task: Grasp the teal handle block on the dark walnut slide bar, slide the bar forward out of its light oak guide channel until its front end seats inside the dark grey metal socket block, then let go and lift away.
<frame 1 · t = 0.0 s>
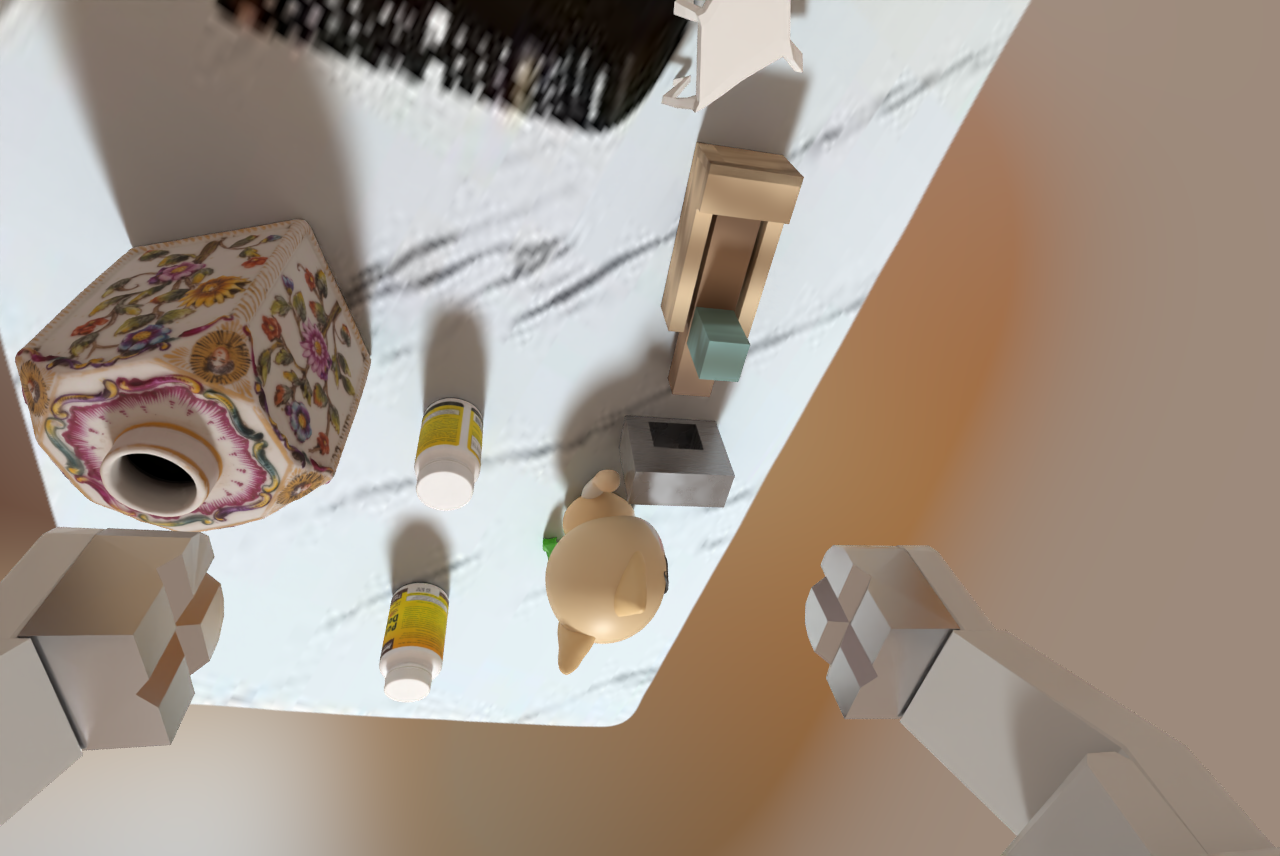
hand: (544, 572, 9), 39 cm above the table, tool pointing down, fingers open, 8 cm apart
slide bar: (720, 311, 47), point 5 cm above the table, slide at 1.0 cm
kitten: (595, 509, 64), on the table
guide channel: (718, 235, 48), on the table
supplement bottle 2: (421, 595, 68), on the table
socket block: (667, 434, 59), on the table
decorative jar: (262, 305, 47), on the table
supplement bottle: (454, 418, 55), on the table
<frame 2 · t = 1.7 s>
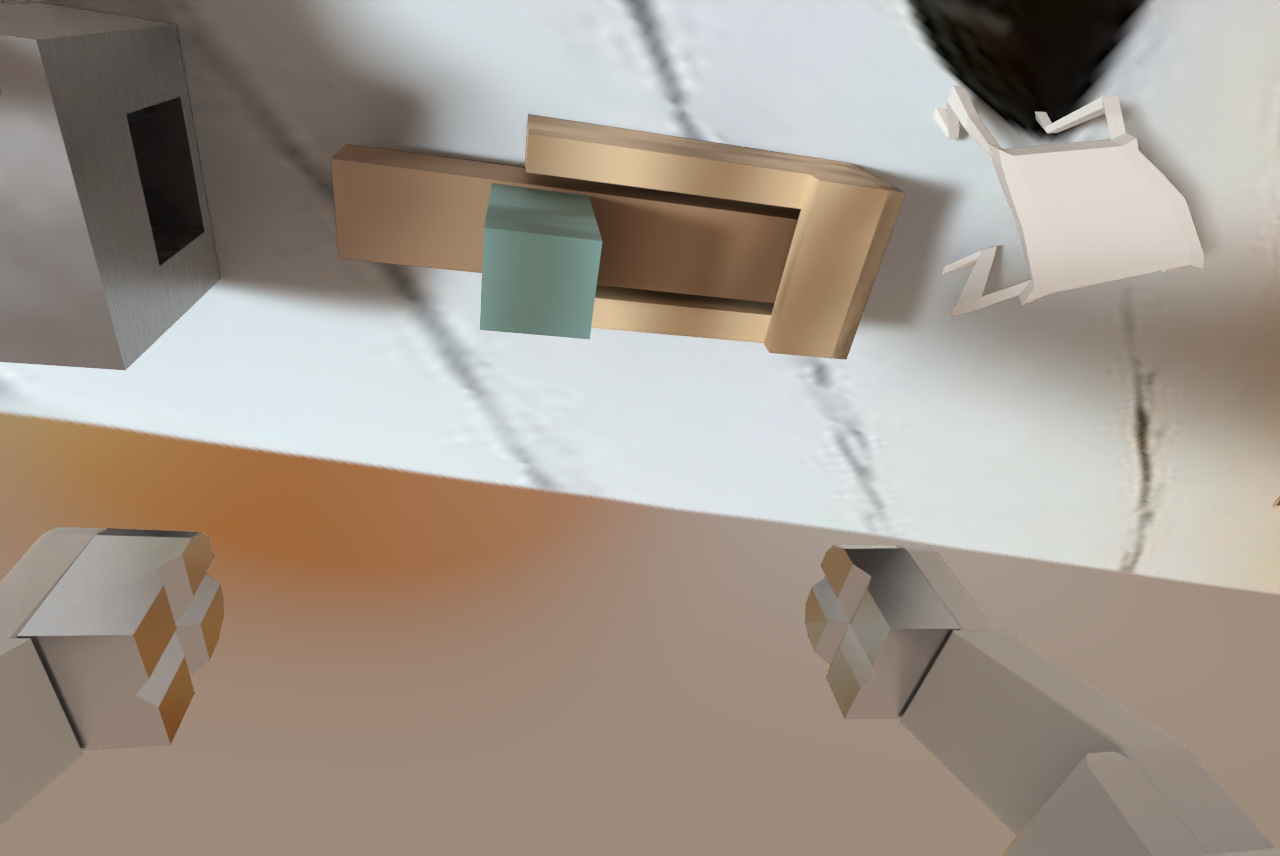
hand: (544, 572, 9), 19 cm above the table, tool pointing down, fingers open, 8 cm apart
slide bar: (599, 252, 21), point 5 cm above the table, slide at 1.0 cm
guide channel: (681, 223, 26), on the table
socket block: (140, 156, 22), on the table
origami figure: (1022, 200, 27), on the table
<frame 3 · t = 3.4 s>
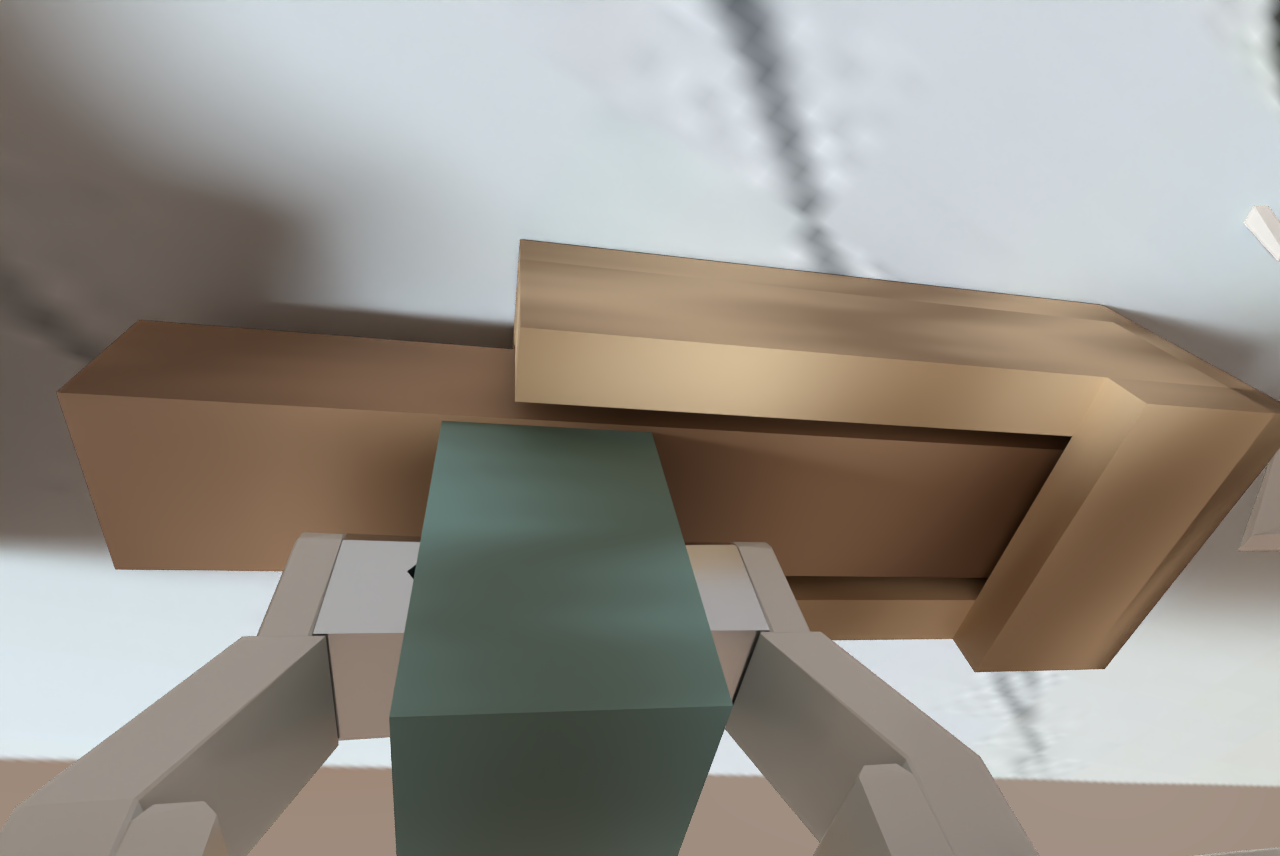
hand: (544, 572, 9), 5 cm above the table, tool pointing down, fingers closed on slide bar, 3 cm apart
slide bar: (675, 559, 10), point 5 cm above the table, slide at 1.0 cm, touching gripper
guide channel: (795, 410, 14), on the table
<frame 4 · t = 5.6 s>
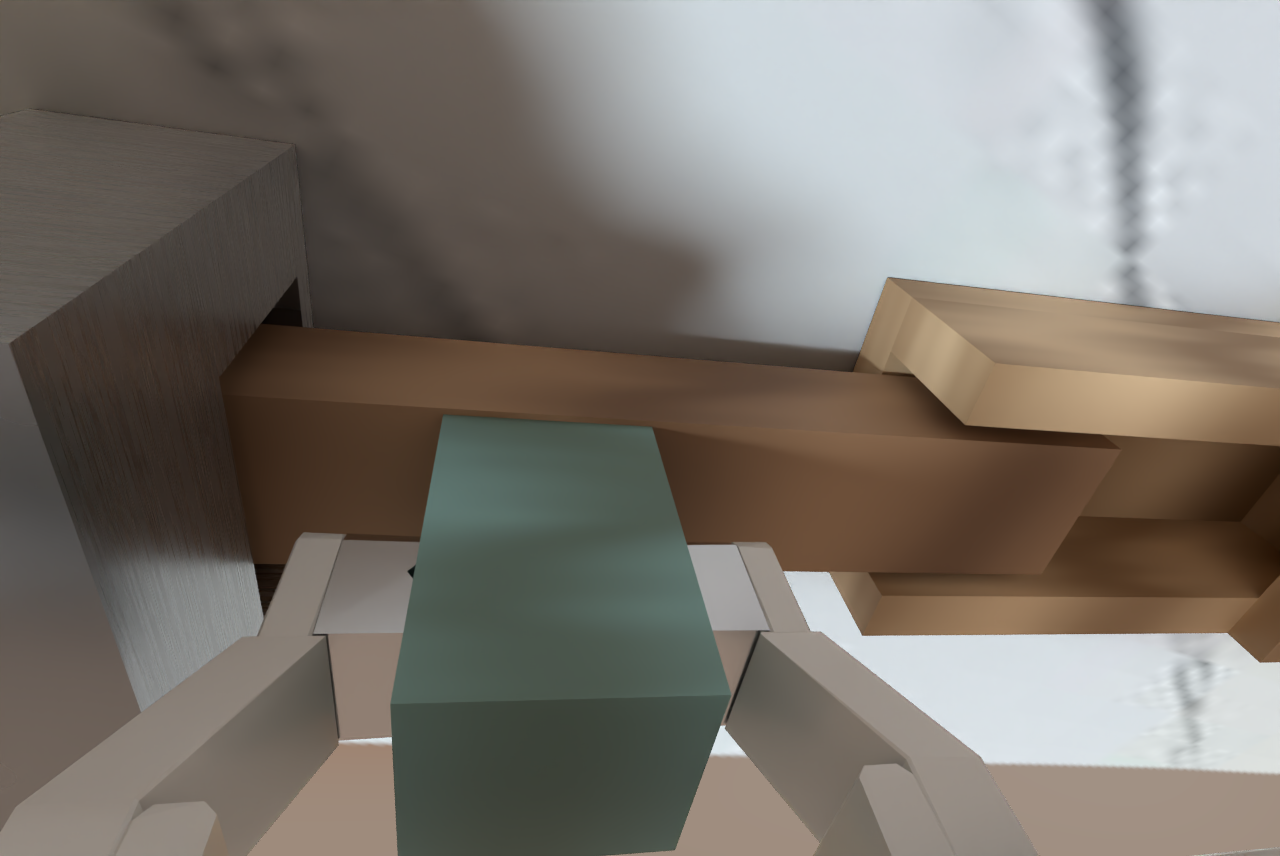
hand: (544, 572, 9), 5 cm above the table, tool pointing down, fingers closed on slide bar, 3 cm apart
slide bar: (675, 552, 10), point 5 cm above the table, slide at 8.0 cm, touching gripper
guide channel: (1071, 425, 16), on the table
socket block: (212, 366, 12), on the table
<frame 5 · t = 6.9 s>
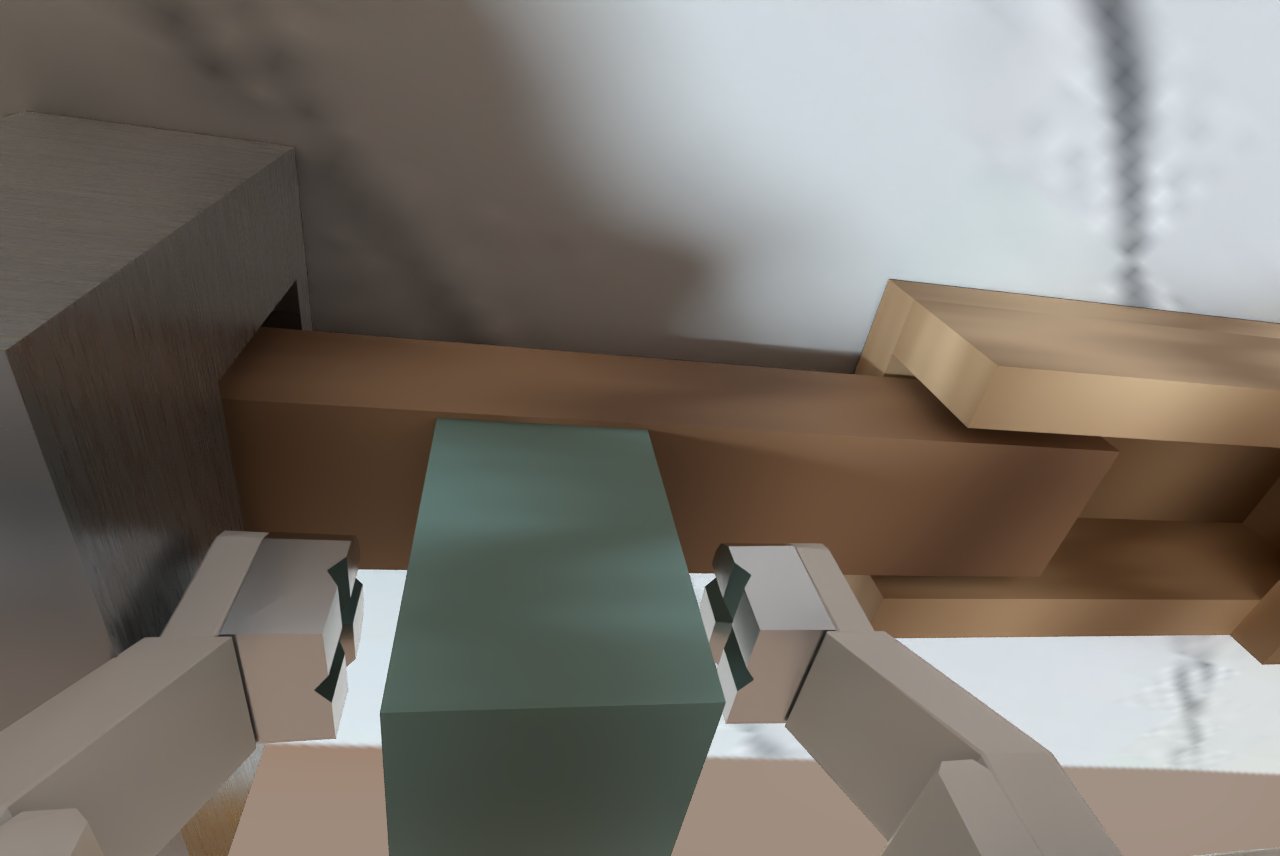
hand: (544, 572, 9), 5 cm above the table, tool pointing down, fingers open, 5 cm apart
slide bar: (671, 556, 10), point 5 cm above the table, slide at 8.1 cm
guide channel: (1073, 427, 16), on the table
socket block: (211, 369, 12), on the table
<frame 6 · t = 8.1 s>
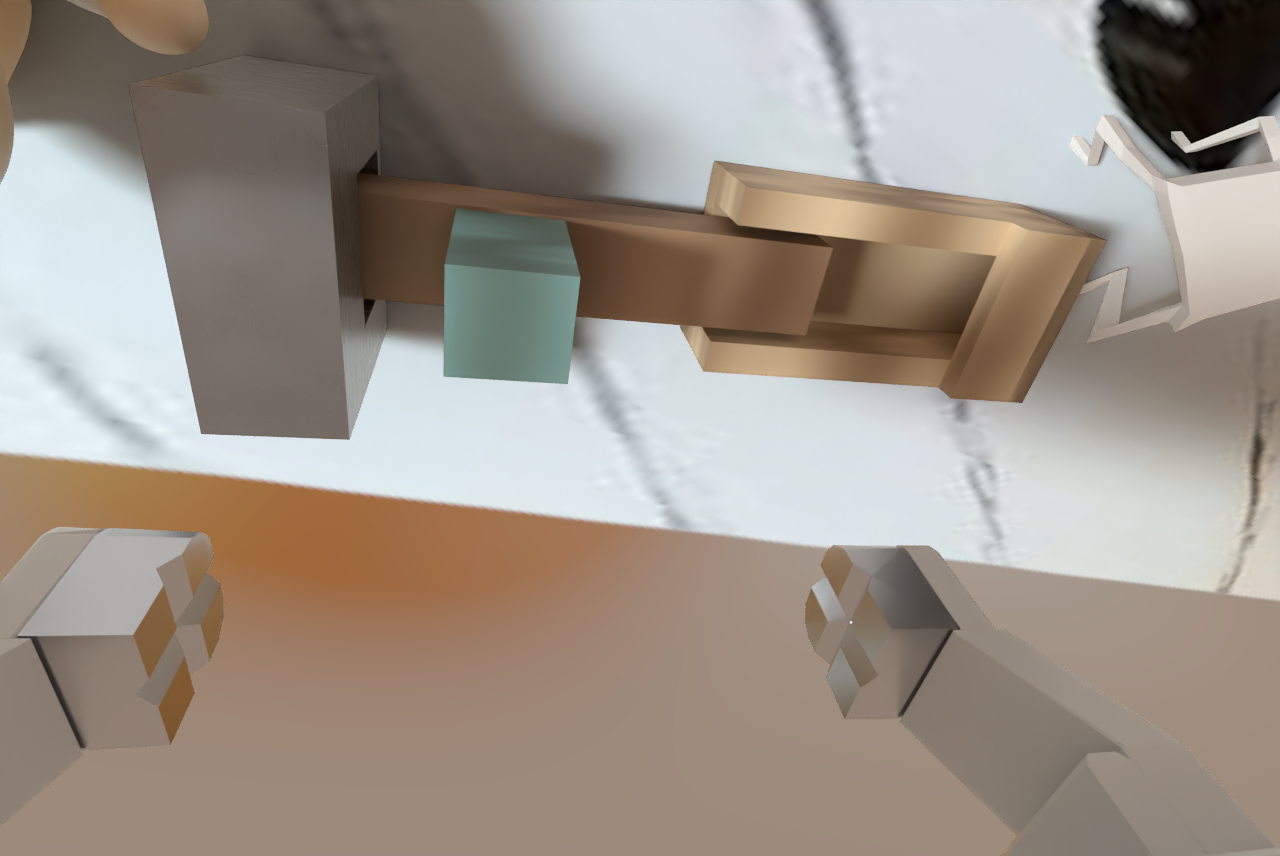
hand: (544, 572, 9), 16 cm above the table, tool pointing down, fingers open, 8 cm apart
slide bar: (577, 283, 19), point 5 cm above the table, slide at 8.1 cm
guide channel: (848, 265, 25), on the table
socket block: (323, 208, 21), on the table
origami figure: (1150, 219, 27), on the table
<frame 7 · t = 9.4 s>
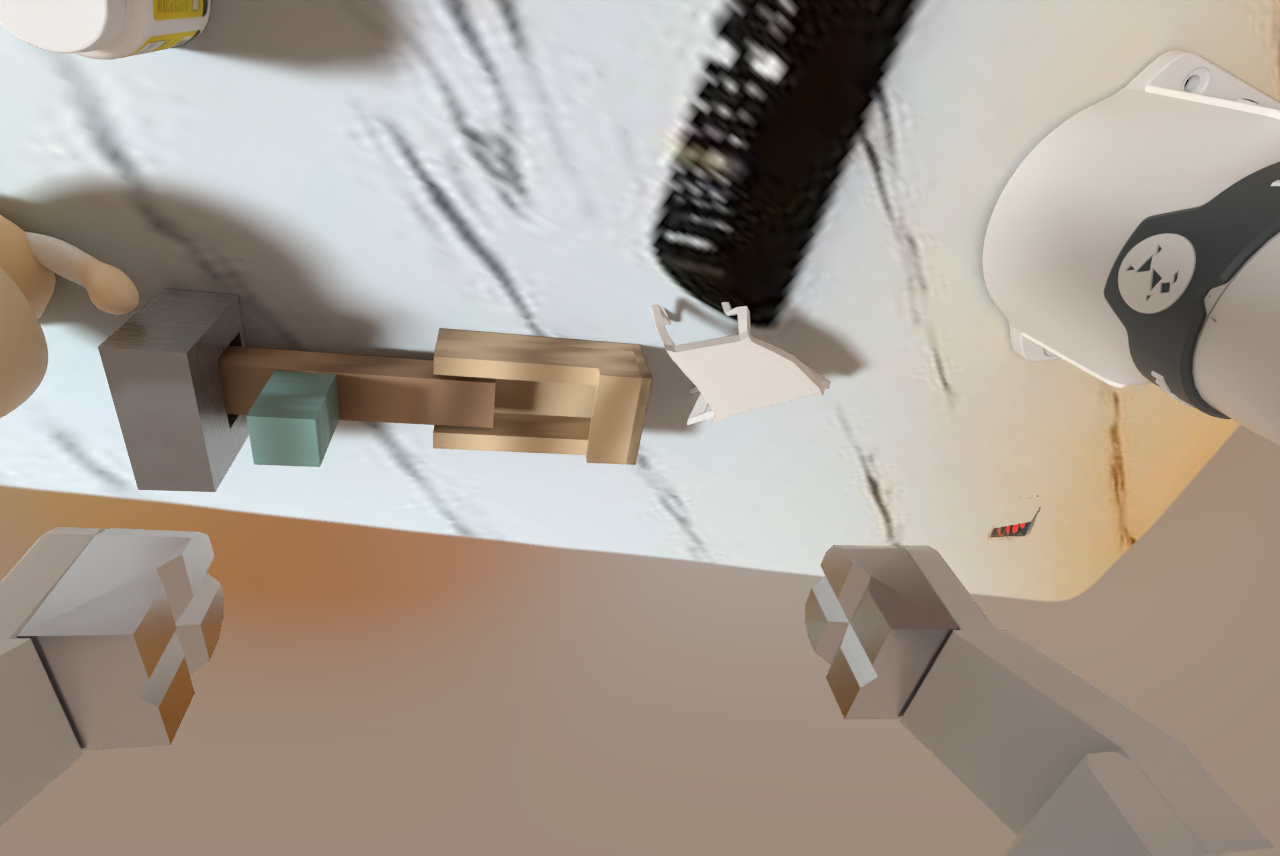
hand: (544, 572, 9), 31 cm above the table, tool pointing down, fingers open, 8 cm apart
slide bar: (340, 408, 36), point 5 cm above the table, slide at 8.1 cm
guide channel: (538, 380, 42), on the table
socket block: (214, 358, 38), on the table
origami figure: (731, 347, 44), on the table
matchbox: (1008, 514, 57), on the table
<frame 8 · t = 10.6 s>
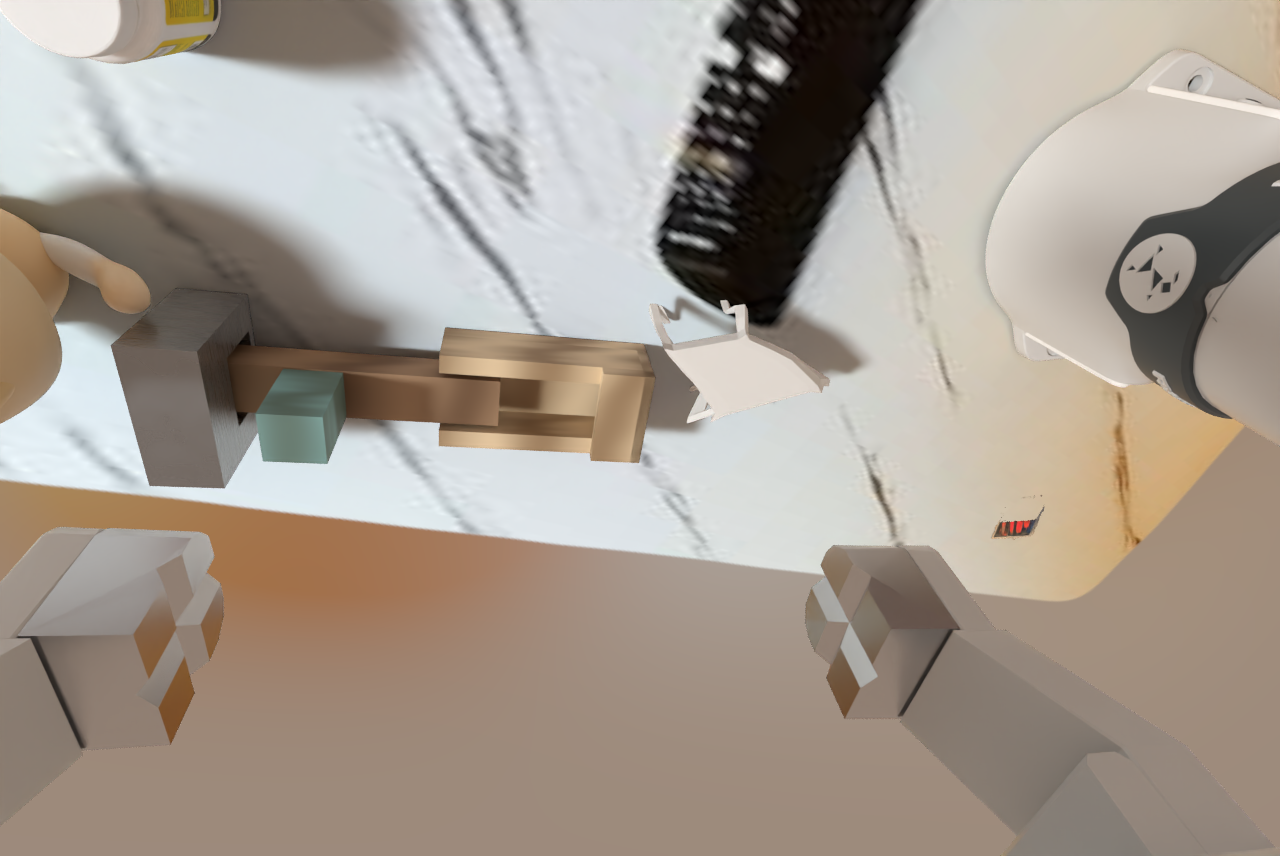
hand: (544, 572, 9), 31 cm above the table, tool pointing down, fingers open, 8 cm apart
slide bar: (347, 406, 37), point 5 cm above the table, slide at 8.1 cm
guide channel: (543, 379, 43), on the table
socket block: (224, 357, 39), on the table
origami figure: (731, 345, 44), on the table
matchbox: (1012, 514, 57), on the table
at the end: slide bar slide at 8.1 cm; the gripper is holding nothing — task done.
